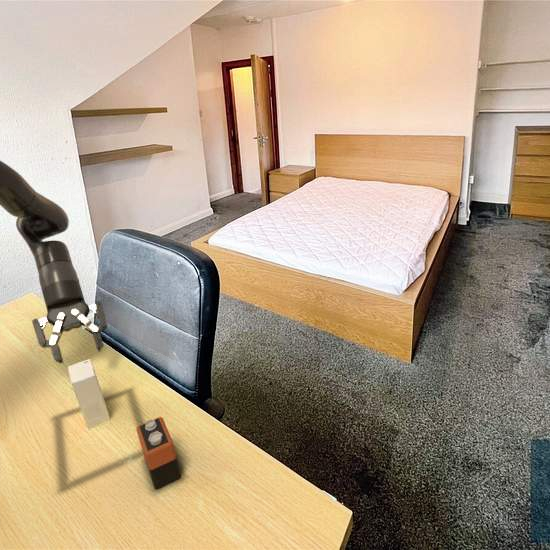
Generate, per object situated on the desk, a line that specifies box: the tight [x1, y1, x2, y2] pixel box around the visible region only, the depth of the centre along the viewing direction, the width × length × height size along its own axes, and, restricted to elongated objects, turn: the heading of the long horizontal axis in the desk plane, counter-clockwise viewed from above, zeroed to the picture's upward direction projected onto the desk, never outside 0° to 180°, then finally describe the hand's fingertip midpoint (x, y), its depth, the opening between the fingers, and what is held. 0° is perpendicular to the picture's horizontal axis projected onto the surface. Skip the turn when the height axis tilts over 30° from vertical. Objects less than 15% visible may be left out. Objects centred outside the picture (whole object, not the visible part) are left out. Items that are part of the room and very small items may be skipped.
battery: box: [136, 416, 182, 491], centre depth 66 cm, size 4×7×10 cm, turn 29°
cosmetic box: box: [67, 358, 111, 430], centre depth 78 cm, size 6×4×12 cm
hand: (80, 356), depth 86 cm, fingers open, 7 cm apart
